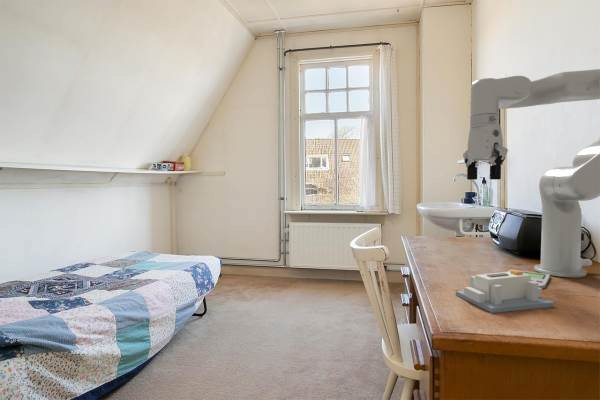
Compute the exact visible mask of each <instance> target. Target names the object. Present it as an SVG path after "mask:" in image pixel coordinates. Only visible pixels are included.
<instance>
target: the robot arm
mask: <svg viewBox="0 0 600 400" xmlns="http://www.w3.org/2000/svg"><path fill="white" fill-rule="evenodd" d="M594 100H600V68H596V69H595V68H594V69H586V70H583V69H582V70H574V71H563V72H559V73H553V74H551V75H548V76H546V77H542V78H539V79H537V80H531V79H530V78H529V77H527V76H524V75H512V76H505V77H501V78H492V77H487V78H481V79H478V80H475V81H473V82H472V83H471V85H470V117H469V122H470V123H469V127H470V128H469V132H468V138H467V139H468V140H467V148H466V149H467V150H466V151H464V152H463V154H462V156H463V159H464V160H463V161H464V163H465V167H466V169H467V170H466V173H467V174H466V179H467V180H468V181H469V180H471V181H472V180H473V181H475V180H478V166H477V165H478V164H479V161H489V163H490V164H491V165H489V180H501V179H502V166H503V164H504V161H505V160H506V156H507V154H508V151H509V149H508V148H507V147H505V146H504V140H503V139H504V138H503V132H502V126H501V124H499V123H500V122H499V120H500V113H499V112H500V110H505V109H519V108H527V107H536V106H544V105H551V104H557V103H559V104H560V103H566V102H567V103H569V102H582V101H594ZM538 187H539V188H538V189H539V194H540V200H541V238H540V239H541V240H540V241H541V242H540V263H539V264H535V265H534V268H533V269H534V270H535V272H537V273H542V274H549V275H550V276H554V277H561V278H575V279H576V278H584V277H586V276H587V270H585V269H584V268H583V267H584V266H592V264H593V261H592V259H589V258H585V259H584V258H582V257H581V250H582V249H581V248H582V247H581V245H582V219H583V218H582V216H583V215H582V208H581V204H580V202H584V201H591V200H595V199H597V198H599V197H600V137H598V138H596V139H595V140H594V141H593V142H591V143H589V144H588V145H586V147H584V148H583V149H581V150H580V151H579V152H578V153H576V155H575V156H574V158H573V160H572V166H561V167H560V166H559V167H554V168H551V169H549V170H547V171H545V172H544V173H543V175H542V176H541V177H540V179H539V183H538Z"/></svg>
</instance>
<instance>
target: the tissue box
mask: <svg viewBox="0 0 600 400" xmlns="http://www.w3.org/2000/svg"><path fill="white" fill-rule="evenodd" d="M522 271H523V270H520V271H519V269H513V271H510V272H508V271H503V272H494V273H483V274H475V275H474V276H475V289H476V290H478V291H481V292H483V293H485V301H488V302H489V301H491V284H498V285H501V286H502V300H505V299H513V298H521V297H527V282H528V281H531V275H528V274H525V273H523V272H522Z"/></svg>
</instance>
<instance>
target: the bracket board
mask: <svg viewBox="0 0 600 400" xmlns="http://www.w3.org/2000/svg"><path fill="white" fill-rule="evenodd" d="M463 287H464V286H463ZM542 293H543V288H539V287H538V283H537V282H534V281H528V282H527V297H521V298H513V299H505V300H502V286H501V285H498V284H491V301H489V302H488V301H485V293H483V292H481V291H478V290H476V289H475V275H470V276H469V286H465V287H464V289H463V290H455V295H456V297H459V298H461V299H463V300H465V301H467V302H469V303H471V304H473V305H475V306H477V307H479V308H481V309H483V310H484V311H487V312H488V313H491V314H493V313H505V312H513V311H515V312H516V311H523V310H533V309H534V310H536V309H543V308H554V307H555V301H552V300H550V299H547V298H543V296H542Z"/></svg>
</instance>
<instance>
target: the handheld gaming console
mask: <svg viewBox="0 0 600 400" xmlns="http://www.w3.org/2000/svg"><path fill="white" fill-rule="evenodd" d="M513 270H514V269H512V268H511V269H509V270H508V271H507V272H510V271H513ZM518 270H519V269H518ZM519 271H522V272H523V273H525V274H528V275H531V281H534V282H537V283H538V287H539V288H542V289H544V288H546V287H547V285H548V282H549V281H550V280H551V279H550V278H551V275H549V274H543V273H540V272H536V271H534V272H533V271H527V270H519Z"/></svg>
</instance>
